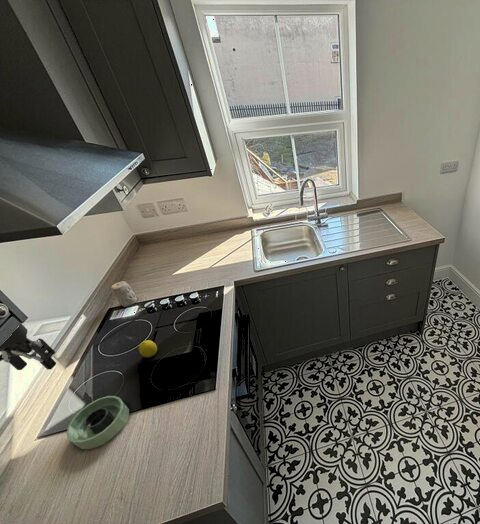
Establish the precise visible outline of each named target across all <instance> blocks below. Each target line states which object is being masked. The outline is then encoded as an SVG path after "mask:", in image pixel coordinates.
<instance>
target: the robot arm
mask: <svg viewBox="0 0 480 524" xmlns="http://www.w3.org/2000/svg"><path fill="white" fill-rule="evenodd" d="M27 334H28V328H27V327H26V326H25V325H24V324H23V323H21V324H20V325H19V327H18V328H17V329H16V330H15V331H14V332H13V333H12V335H11V336H10V337H9V338H8V339H7V340H6V341H5V342H4V343H3V344H2V345H1V346H0V353H1V354H0V362H1V361H3V362H4V363H6V364H7V363H8V364H10V365H11V366H12V367H13V368H15V370H16V371H22V370H23V369H25V367H27V365H28V363H27V361H26V360H24V359H23V358H25V359H28V360H32V359H33V360H36V361H38V362H39V363H40V364H41V365H42V367H44V368H45V369H46V370H47V371H48V370H52V369H53V368H55V366H56V365H57V362H56V361H55V360H54V359H53V358H52V357H53V356H54V355H55V354H56V351H55V349H53V348H52V347H51V346H50V345H49V344H48V343H47V342H46V341H45V340H44V339H43V338H37V339H36V340H31V339H30V338H28V337H27ZM32 351H33V352H32ZM31 352H32V353H31ZM22 357H23V358H22Z"/></svg>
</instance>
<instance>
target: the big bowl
mask: <svg viewBox="0 0 480 524" xmlns="http://www.w3.org/2000/svg"><path fill="white" fill-rule="evenodd" d="M99 408H106V409H107V410H108V411H109V412H110V413H111V414H112V415H113V416H114V421H113V422H112V423H111V425H109V426H108V427H107V428H106V429H105V430H103V431H102V432H101V433H99V434H92V433H91V432H90V431H89V430H88V429H86V428H85V426H84V425H83V424H84V420H85V419H86V417H87V416H88V415H89V414H90V413H91V412H93V411H94V410H96V409H99ZM129 417H130V408H129V407H128V405H127V404H126V403H125V402H124V400H123V399H122V398H120V397H118V396H116V395H106V396H104V397H99V398H97V399H96V400H93V401H91V402H90V403H88V404H87V405H85V406H84V407H83V408H81V409H80V410H79V411H78V412H77V414H75V415H74V416H73V418H72V420H71V421H70V423H69V424H68V426H67V430H66V437H67V439H68V441H69V442H71V443H72V444H73V445H74V446H76V447H77V448H79V449H81V450H92V449H96V448H98V447H100V446H103V445H104V444H106V443H108V442H109V441H111V440H112V439H113V438H115V436H117V435H118V434H119V433H120V432H121V431H122V429H123V428H124V427H125V426H126V424H127V422H128V420H129Z"/></svg>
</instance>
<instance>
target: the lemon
mask: <svg viewBox="0 0 480 524" xmlns="http://www.w3.org/2000/svg"><path fill="white" fill-rule="evenodd" d="M138 351H139V354H140V355H141V356H142V357H144V358H151V357H153V356H155V355H156V354H157V352H158V346H157V344H156V343H155V342H154V341H153V340H150V339H148V340H144V341H142V342H140V344H139V345H138Z"/></svg>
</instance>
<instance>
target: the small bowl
mask: <svg viewBox="0 0 480 524" xmlns="http://www.w3.org/2000/svg"><path fill="white" fill-rule="evenodd" d="M113 421H114V416H113V415H112V414H111V413H110V412H109V411H108V410H107V409H106V408H99V409H96V410H94V411H93V412H91V413H90V414H89V415H88V416H87V417H86V419H85V420H84V424H83V425H84V426H85V428H86V429H88V430H89V431H90V432H91V433H92V434H99V433H101V432H102V431H103V430H105V429H106V428H107V427H108V426H109V425H111V423H112V422H113Z"/></svg>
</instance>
